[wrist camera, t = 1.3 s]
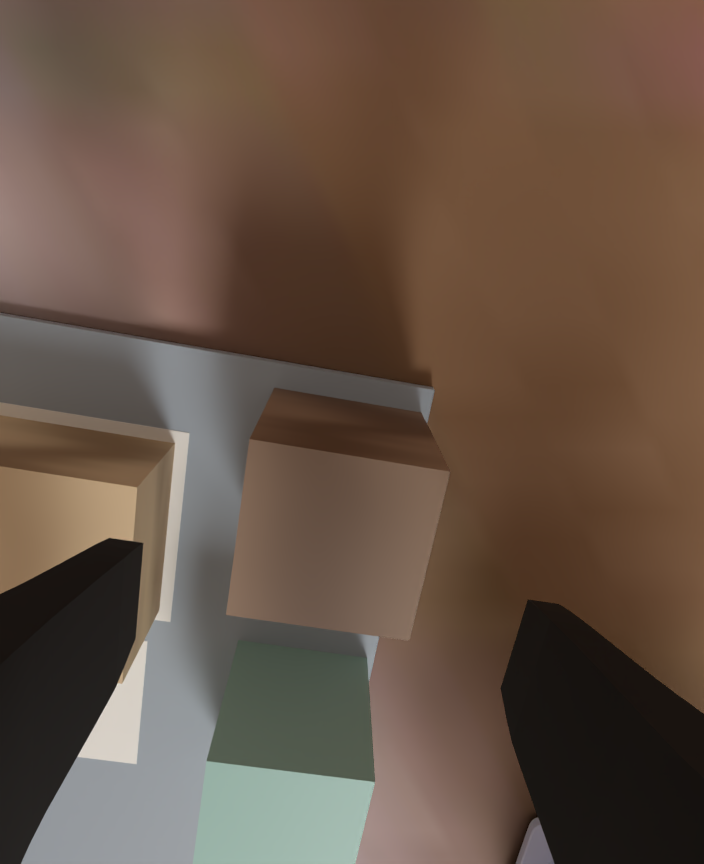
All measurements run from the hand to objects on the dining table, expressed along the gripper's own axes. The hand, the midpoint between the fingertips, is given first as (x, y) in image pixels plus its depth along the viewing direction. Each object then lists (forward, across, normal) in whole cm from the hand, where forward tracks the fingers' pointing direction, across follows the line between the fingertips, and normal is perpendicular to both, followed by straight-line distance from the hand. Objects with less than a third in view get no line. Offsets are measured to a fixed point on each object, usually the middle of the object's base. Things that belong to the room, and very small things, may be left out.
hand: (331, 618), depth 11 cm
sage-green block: (+8, 0, +9) cm, 12 cm away
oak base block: (+8, +8, +3) cm, 12 cm away
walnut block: (+8, 0, 0) cm, 8 cm away
